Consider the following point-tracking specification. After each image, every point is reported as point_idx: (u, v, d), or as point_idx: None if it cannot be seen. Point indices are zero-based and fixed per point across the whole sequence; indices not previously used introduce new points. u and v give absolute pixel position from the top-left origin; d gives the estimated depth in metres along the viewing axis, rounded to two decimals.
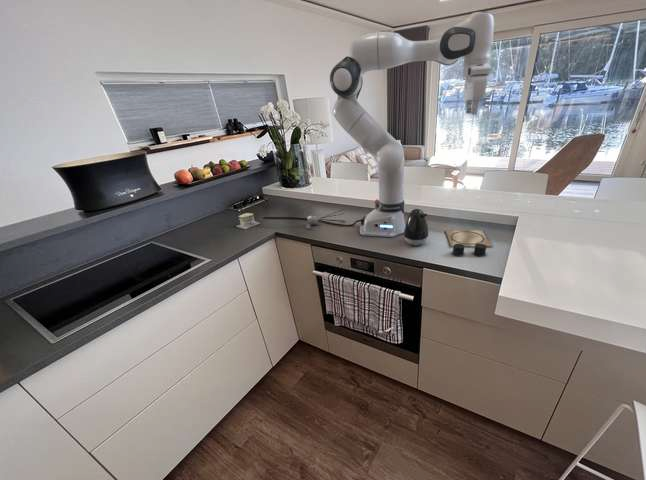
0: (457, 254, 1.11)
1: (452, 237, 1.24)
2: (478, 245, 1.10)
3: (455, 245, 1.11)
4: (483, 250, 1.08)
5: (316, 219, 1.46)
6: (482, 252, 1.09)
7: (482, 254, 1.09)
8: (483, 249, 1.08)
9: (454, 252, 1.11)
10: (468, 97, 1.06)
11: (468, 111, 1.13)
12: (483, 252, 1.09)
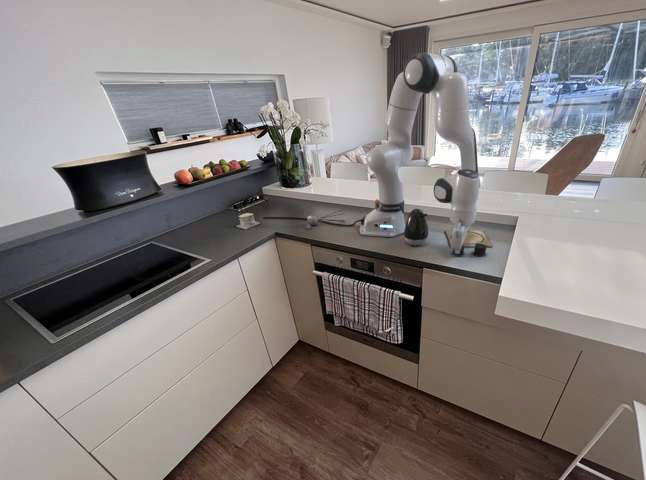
0: (457, 254, 1.11)
1: None
2: (478, 245, 1.10)
3: None
4: (483, 250, 1.08)
5: (316, 219, 1.46)
6: (482, 252, 1.09)
7: (482, 254, 1.09)
8: (483, 249, 1.08)
9: (454, 252, 1.11)
10: (465, 235, 1.09)
11: None
12: (483, 252, 1.09)
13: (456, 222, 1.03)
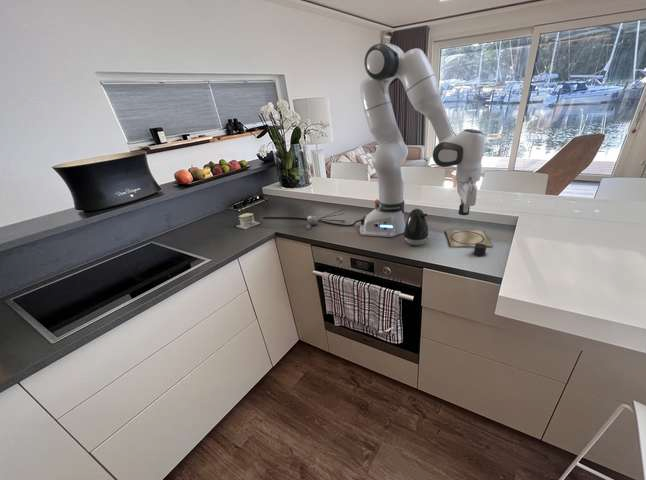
0: (464, 213, 1.16)
1: (452, 237, 1.24)
2: (478, 245, 1.10)
3: (461, 205, 1.17)
4: (483, 250, 1.08)
5: (316, 219, 1.46)
6: (482, 252, 1.09)
7: (482, 254, 1.09)
8: (483, 249, 1.08)
9: (461, 212, 1.17)
10: None
11: None
12: (483, 252, 1.09)
13: (466, 180, 1.08)
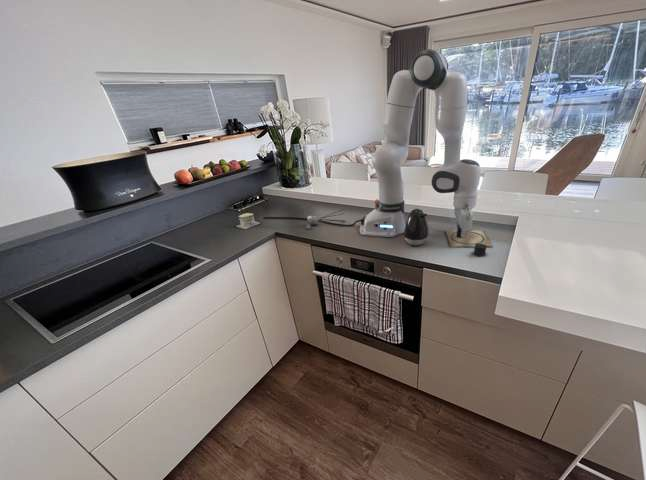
0: None
1: (452, 237, 1.24)
2: (478, 245, 1.10)
3: (459, 228, 1.23)
4: (483, 250, 1.08)
5: (316, 219, 1.46)
6: (482, 252, 1.09)
7: (482, 254, 1.09)
8: (483, 249, 1.08)
9: (459, 235, 1.23)
10: None
11: None
12: (483, 252, 1.09)
13: (462, 207, 1.14)
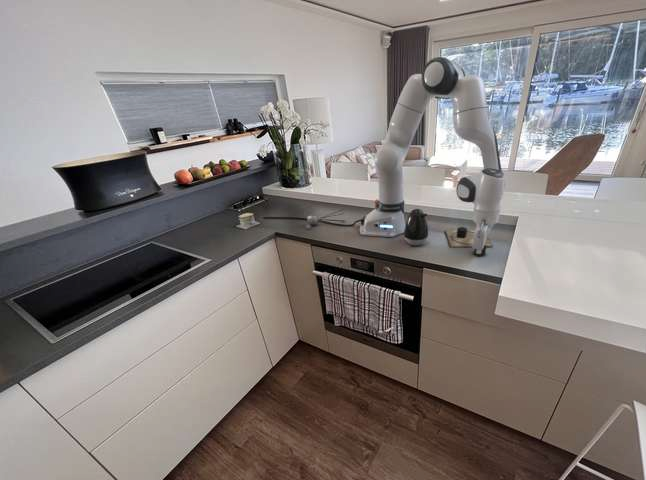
0: (462, 236, 1.23)
1: (452, 237, 1.24)
2: None
3: (459, 228, 1.23)
4: (483, 250, 1.08)
5: (316, 219, 1.46)
6: (482, 252, 1.09)
7: (482, 254, 1.09)
8: (483, 249, 1.08)
9: (459, 235, 1.23)
10: None
11: None
12: (483, 252, 1.09)
13: (479, 222, 1.02)
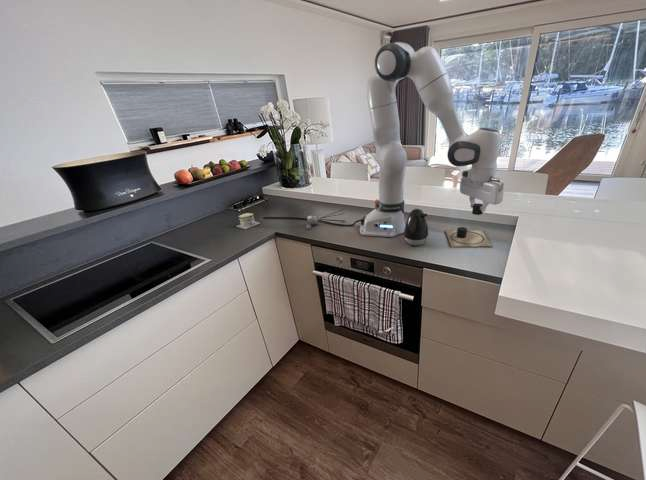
0: (462, 236, 1.23)
1: (452, 237, 1.24)
2: (476, 205, 1.15)
3: (459, 228, 1.23)
4: None
5: (316, 219, 1.46)
6: None
7: (482, 212, 1.16)
8: None
9: (459, 235, 1.23)
10: None
11: None
12: None
13: (487, 179, 1.06)
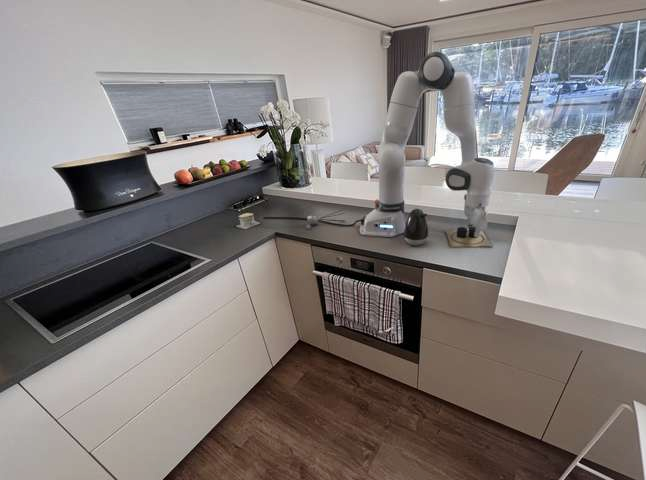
0: (462, 236, 1.23)
1: (452, 237, 1.24)
2: (472, 228, 1.23)
3: (459, 228, 1.23)
4: None
5: (316, 219, 1.46)
6: None
7: None
8: None
9: (459, 235, 1.23)
10: None
11: None
12: None
13: (476, 206, 1.13)
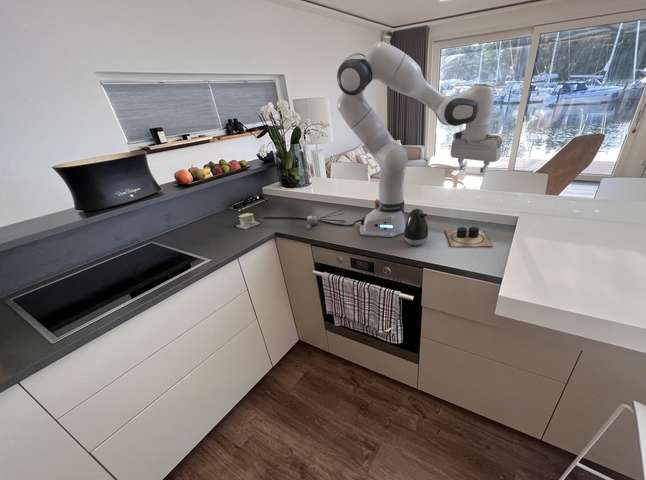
0: (462, 236, 1.23)
1: (452, 237, 1.24)
2: (472, 228, 1.23)
3: (459, 228, 1.23)
4: (478, 232, 1.22)
5: (316, 219, 1.46)
6: (477, 233, 1.22)
7: (477, 235, 1.23)
8: (478, 231, 1.22)
9: (459, 235, 1.23)
10: None
11: None
12: (477, 233, 1.22)
13: (484, 137, 1.06)
